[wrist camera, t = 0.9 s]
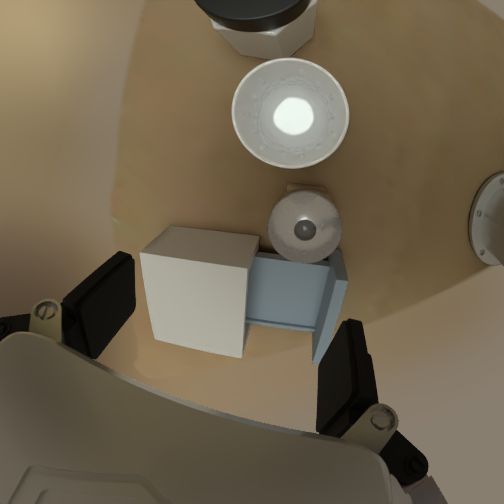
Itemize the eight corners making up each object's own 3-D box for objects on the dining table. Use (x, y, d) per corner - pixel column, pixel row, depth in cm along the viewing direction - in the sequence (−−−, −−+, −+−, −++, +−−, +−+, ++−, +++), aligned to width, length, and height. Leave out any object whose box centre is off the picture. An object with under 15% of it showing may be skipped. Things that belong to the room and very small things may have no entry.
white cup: (345, 136, 25) (367, 143, 16) (276, 166, 28) (263, 186, 19) (310, 69, 23) (315, 41, 14) (241, 100, 25) (211, 89, 16)
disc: (344, 193, 22) (348, 199, 20) (332, 257, 25) (334, 268, 23) (273, 183, 23) (271, 189, 21) (267, 248, 25) (264, 258, 24)
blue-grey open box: (340, 249, 30) (348, 281, 24) (321, 327, 36) (322, 364, 30) (243, 236, 32) (229, 265, 26) (239, 316, 37) (227, 351, 31)
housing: (259, 236, 32) (247, 268, 25) (252, 318, 37) (241, 358, 30) (170, 225, 33) (139, 252, 26) (176, 304, 38) (154, 339, 32)
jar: (320, 6, 19) (328, -52, 8) (305, 69, 23) (307, 32, 12) (237, -6, 19) (201, -61, 9) (219, 54, 23) (170, 18, 13)
